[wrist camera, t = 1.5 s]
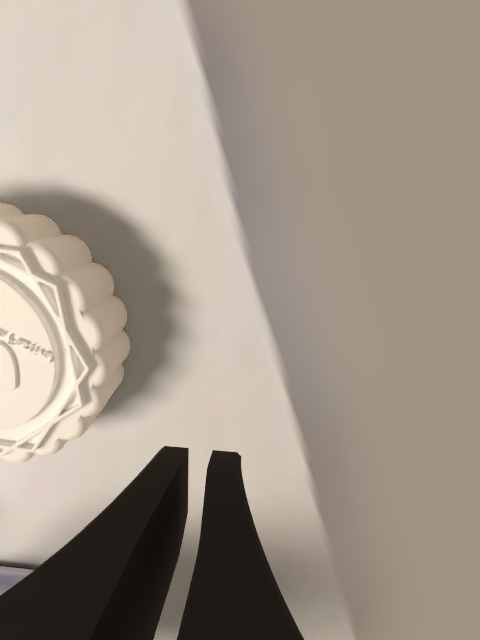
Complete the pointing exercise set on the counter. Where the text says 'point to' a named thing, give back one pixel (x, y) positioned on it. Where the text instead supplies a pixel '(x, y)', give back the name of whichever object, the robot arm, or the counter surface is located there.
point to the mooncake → (53, 336)
